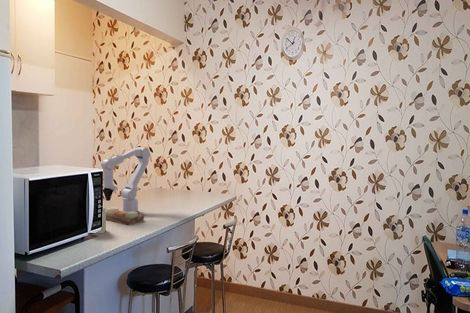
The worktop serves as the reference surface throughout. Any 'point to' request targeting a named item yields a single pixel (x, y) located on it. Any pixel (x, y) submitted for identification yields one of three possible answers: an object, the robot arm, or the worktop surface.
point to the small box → (103, 221)
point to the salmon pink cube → (120, 213)
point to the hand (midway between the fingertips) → (108, 200)
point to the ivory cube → (112, 210)
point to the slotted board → (124, 219)
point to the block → (131, 214)
